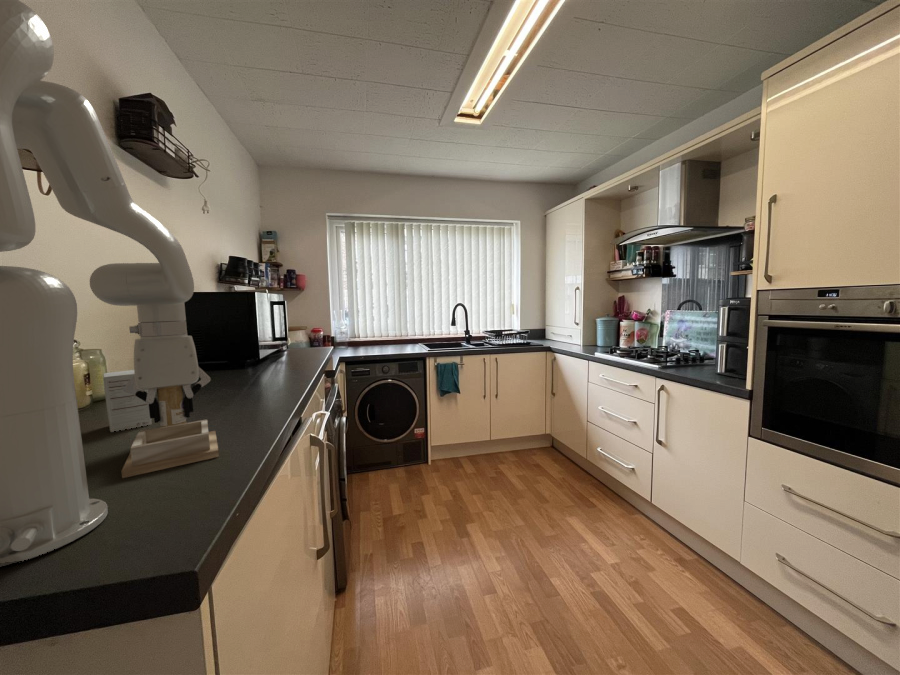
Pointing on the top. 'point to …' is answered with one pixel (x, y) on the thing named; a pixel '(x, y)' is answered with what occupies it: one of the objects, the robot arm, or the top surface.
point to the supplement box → (124, 403)
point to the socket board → (170, 447)
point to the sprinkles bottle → (171, 406)
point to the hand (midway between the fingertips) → (172, 417)
